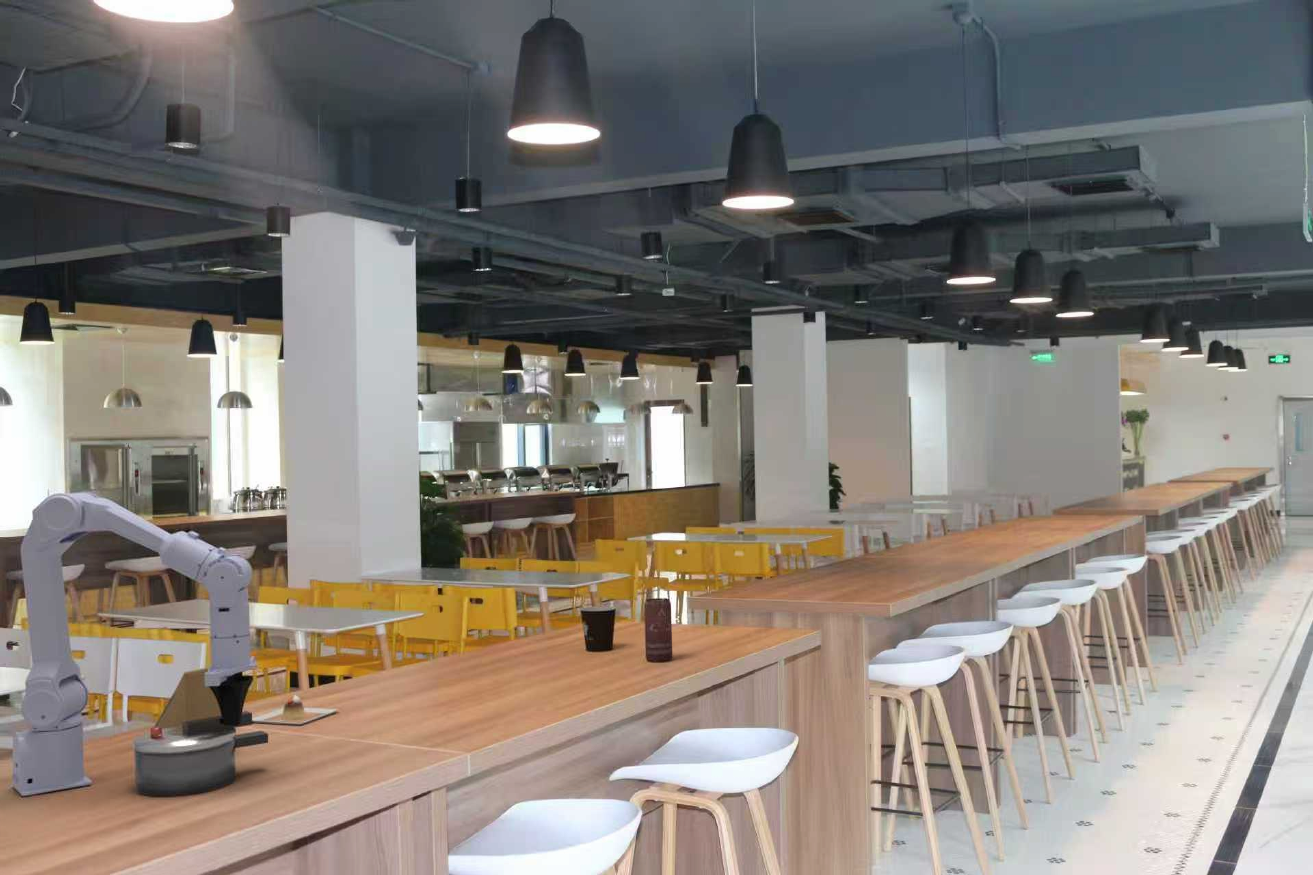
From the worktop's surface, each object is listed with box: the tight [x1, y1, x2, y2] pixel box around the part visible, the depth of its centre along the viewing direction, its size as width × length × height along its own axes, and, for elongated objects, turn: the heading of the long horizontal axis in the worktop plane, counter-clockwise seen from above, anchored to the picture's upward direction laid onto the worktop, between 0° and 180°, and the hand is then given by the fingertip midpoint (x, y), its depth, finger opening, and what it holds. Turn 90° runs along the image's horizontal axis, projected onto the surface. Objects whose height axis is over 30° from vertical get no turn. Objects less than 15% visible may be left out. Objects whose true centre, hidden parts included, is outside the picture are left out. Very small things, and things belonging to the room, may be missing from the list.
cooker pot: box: [134, 730, 269, 798], centre depth 182 cm, size 19×14×6 cm
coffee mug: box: [580, 606, 617, 653], centre depth 296 cm, size 12×9×10 cm
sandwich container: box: [153, 666, 221, 729], centre depth 201 cm, size 9×15×15 cm, turn 52°
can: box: [643, 597, 673, 663], centre depth 277 cm, size 6×6×14 cm
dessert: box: [252, 694, 340, 726], centre depth 226 cm, size 12×12×5 cm
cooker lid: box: [132, 710, 253, 754], centre depth 182 cm, size 17×14×3 cm
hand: (232, 725), depth 184 cm, fingers closed
